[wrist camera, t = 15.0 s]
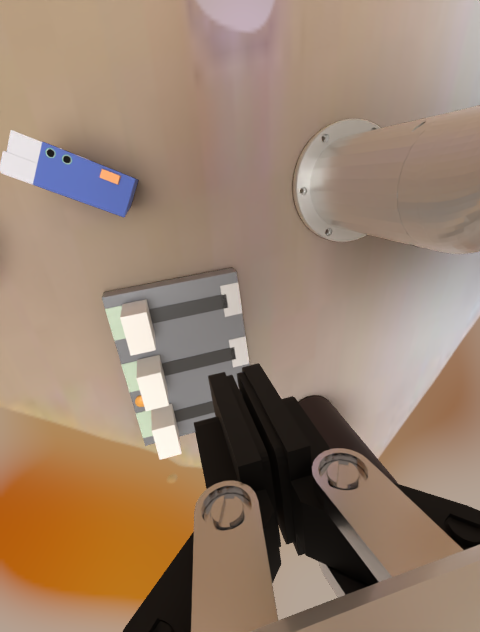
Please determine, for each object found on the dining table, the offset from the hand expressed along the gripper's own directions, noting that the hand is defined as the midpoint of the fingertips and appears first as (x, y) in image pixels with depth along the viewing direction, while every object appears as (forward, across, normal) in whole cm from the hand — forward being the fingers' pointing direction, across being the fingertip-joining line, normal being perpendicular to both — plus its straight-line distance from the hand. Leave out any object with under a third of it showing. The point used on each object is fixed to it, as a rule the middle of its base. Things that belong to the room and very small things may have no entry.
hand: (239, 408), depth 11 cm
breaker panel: (+29, +1, +12) cm, 32 cm away
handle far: (+27, +5, +19) cm, 33 cm away
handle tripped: (+27, +5, +13) cm, 30 cm away
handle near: (+27, +5, +6) cm, 28 cm away
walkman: (+29, +6, -8) cm, 31 cm away
